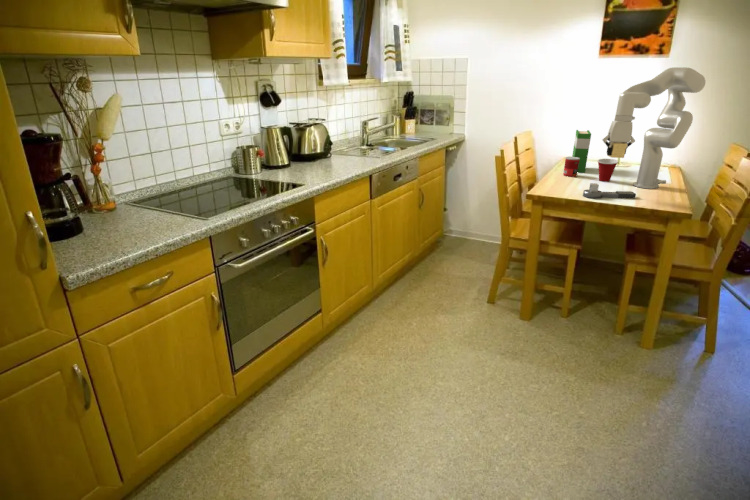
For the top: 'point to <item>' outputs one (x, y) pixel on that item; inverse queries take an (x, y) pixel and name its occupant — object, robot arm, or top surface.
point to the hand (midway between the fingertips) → (615, 155)
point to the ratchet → (606, 193)
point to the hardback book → (581, 148)
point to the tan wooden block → (618, 150)
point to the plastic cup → (606, 169)
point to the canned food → (571, 166)
